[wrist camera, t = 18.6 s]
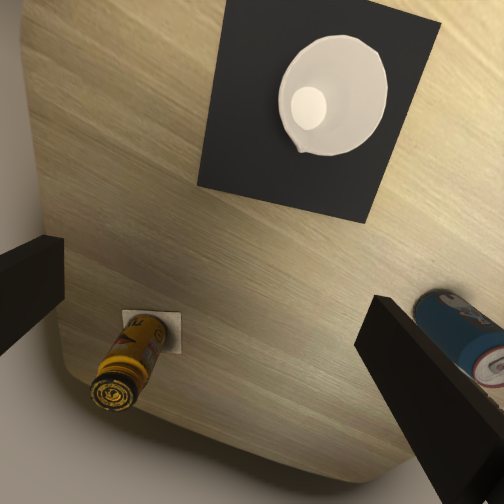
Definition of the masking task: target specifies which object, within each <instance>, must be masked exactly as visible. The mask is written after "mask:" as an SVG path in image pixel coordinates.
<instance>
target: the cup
mask: <svg viewBox="0 0 504 504" xmlns="http://www.w3.org/2000/svg"><path fill="white" fill-rule="evenodd" d="M387 89H388V86H387V79H386V73H385V69H384V67H383V64H382V62H381V59H380V57H379V54H378V52H376V51H375V50H373V49H372V48H371V47H369V46H368V45H366V44H365V43H363V42H362V41H360V40H359V39H358V38H354V37H350V36H347V35H336V36H326V37H323V38H320V39H317V40H316V41H314V42H313V43H311V44H310V45H309V46H307V47H306V48H304V49H303V50H301V51H300V52H299V53H298V54H297V56H296V57H295V58H294V60H293V61H292V62H291V64H290V65H289V66H288V68H287V70H286V72H285V74H284V76H283V78H282V82H281V85H280V88H279V97H278V103H279V114H280V117H281V120H282V123H283V126H284V129H285V131H286V132H287V134H288V135H289V137H290V138H291V139H292V141H293V142H294V144H295V145H296V147H297V150H298V152H301V153H303V152H308V153H312V154H316V155H324V156H333V155H338V154H342V153H346V152H349V151H351V150H353V149H355V148H356V147H358V146H359V145H361V144H362V143H363V142H365V141H366V140H367V139H368V138H369V137H370V136H371V135H372V133H373V132H374V130H375V129H376V128H377V126H378V124H379V122H380V120H381V119H382V116H383V113H384V109H385V106H386V98H387Z"/></svg>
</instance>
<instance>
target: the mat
mask: <svg viewBox="0 0 504 504" xmlns="http://www.w3.org/2000/svg"><path fill="white" fill-rule="evenodd" d="M440 26H441V23H439V22H436V21H433V20H430V19H426V18H423V17H420V16H417V15H413V14H410V13H407V12H404V11H401V10H397V9H394V8H391V7H388V6H384V5H381V4H378V3H375V2H371V1H368V0H227V1H226V7H225V13H224V19H223V26H222V32H221V38H220V44H219V50H218V57H217V63H216V69H215V75H214V82H213V88H212V94H211V100H210V107H209V113H208V119H207V125H206V132H205V138H204V144H203V150H202V157H201V163H200V169H199V175H198V182H197V186H201V187H205V188H210V189H214V190H218V191H223V192H227V193H232V194H236V195H240V196H245V197H249V198H253V199H258V200H262V201H267V202H271V203H275V204H280V205H284V206H289V207H293V208H297V209H302V210H306V211H311V212H315V213H319V214H324V215H328V216H332V217H337V218H341V219H346V220H350V221H354V222H359V223H363V224H365V222H366V219H367V217H368V214H369V212H370V209H371V206H372V204H373V201H374V198H375V196H376V193H377V191H378V188H379V185H380V183H381V180H382V178H383V175H384V172H385V170H386V167H387V165H388V162H389V159H390V157H391V154H392V151H393V149H394V146H395V144H396V141H397V138H398V136H399V133H400V131H401V128H402V125H403V123H404V120H405V118H406V115H407V112H408V110H409V107H410V104H411V102H412V99H413V97H414V94H415V91H416V89H417V86H418V84H419V81H420V78H421V76H422V73H423V71H424V68H425V65H426V63H427V60H428V57H429V55H430V52H431V50H432V47H433V44H434V42H435V39H436V37H437V34H438V31H439V29H440ZM336 35H347V36H350V37H354V38H358V39H359V40H360V41H362V42H363V43H365V44H366V45H368V46H369V47H371V48H372V49H373V50H375V51H376V52H378V54H379V57H380V59H381V62H382V64H383V67H384V69H385V73H386V79H387V86H388V89H387V98H386V106H385V109H384V113H383V116H382V119H381V120H380V122H379V124H378V126H377V128H376V129H375V130H374V132H373V133H372V135H371V136H370V137H369V138H368V139H367V140H366V141H365V142H363V143H362V144H361V145H359V146H358V147H356V148H355V149H353V150H351V151H349V152H346V153H342V154H338V155H333V156H324V155H316V154H312V153H308V152H303V153H301V152H298V150H297V147H296V145H295V144H294V142H293V141H292V139H291V138H290V137H289V135H288V134H287V132H286V131H285V129H284V126H283V123H282V120H281V117H280V114H279V103H278V97H279V88H280V85H281V82H282V78H283V76H284V74H285V72H286V70H287V68H288V66H289V65H290V64H291V62H292V61H293V60H294V58H295V57H296V56H297V54H298V53H299V52H300V51H301V50H303V49H304V48H306V47H307V46H309V45H310V44H311V43H313V42H314V41H316V40H317V39H320V38H323V37H326V36H336Z"/></svg>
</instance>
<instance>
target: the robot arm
mask: <svg viewBox="0 0 504 504" xmlns="http://www.w3.org/2000/svg"><path fill="white" fill-rule="evenodd" d="M64 299H65V285H64V238H59V237H53V236H48V235H42V236H40V237H37V238H36V239H33V240H31V241H29V242H27V243H25V244H23V245H20V246H18V247H16V248H14V249H12V250H10V251H8V252H6V253H4V254H1V255H0V356H1V355H2V354H3V353H5V352H6V351H7V350H8V349H9V348H10V347H11V346H12V345H13V344H15V343H16V342H17V341H18V340H19V339H20V338H21V337H22V336H24V335H25V334H26V333H27V332H28V331H29V330H30V329H31V328H32V327H34V326H35V325H36V324H37V323H38V322H39V321H40V320H41V319H43V318H44V317H45V316H46V315H47V314H48V313H49V312H50V311H51V310H53V309H54V308H55V307H56V306H57V305H58V304H59V303H61V302H62V301H63V300H64ZM354 346H355V348H356V350H357V351H358V353H359V355H360V357H361V359H362V360H363V362H364V364H365V366H366V368H367V369H368V371H369V373H370V375H371V376H372V378H373V380H374V382H375V384H376V385H377V387H378V389H379V391H380V393H381V394H382V396H383V398H384V400H385V402H386V403H387V405H388V407H389V409H390V410H391V412H392V414H393V416H394V418H395V419H396V421H397V423H398V425H399V427H400V428H401V430H402V432H403V434H404V436H405V437H406V439H407V441H408V443H409V445H410V446H411V448H412V450H413V452H414V453H415V455H416V457H417V459H418V461H419V462H420V464H421V466H422V468H423V470H424V471H425V473H426V475H427V477H428V479H429V480H430V482H431V484H432V486H433V487H434V489H435V491H436V493H437V495H438V496H439V498H440V500H441V502H442V504H483V502H484V501H485V500H486V501H487V502H488V504H504V411H503V409H499V405H498V404H497V403H496V402H495V401H494V400H493V399H492V398H491V397H488V394H487V393H486V392H485V391H484V390H483V389H482V388H481V387H480V386H479V385H478V384H477V383H476V382H475V381H474V380H473V379H471V378H470V377H469V376H467V375H466V374H465V373H463V372H462V371H461V370H460V369H459V368H458V367H457V366H456V365H455V364H454V363H453V362H452V361H451V360H450V359H449V358H448V357H447V356H446V355H445V354H444V353H443V352H442V351H441V350H440V348H439V347H438V346H437V345H436V344H435V343H434V342H433V341H432V340H431V339H430V338H429V337H428V336H427V335H426V334H425V333H424V332H423V331H422V330H421V329H420V328H419V327H418V326H417V325H416V324H415V323H414V322H413V320H412V319H411V318H410V317H409V316H408V315H407V314H406V313H405V312H404V311H403V310H402V309H401V308H400V307H399V306H398V305H397V304H396V303H395V302H394V301H393V300H392V299H391V298H390V297H384V296H379V295H374V297H373V300H372V302H371V305H370V307H369V309H368V312H367V314H366V317H365V319H364V322H363V324H362V326H361V329H360V331H359V334H358V336H357V338H356V341H355V343H354Z"/></svg>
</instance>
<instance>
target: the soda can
mask: <svg viewBox="0 0 504 504" xmlns="http://www.w3.org/2000/svg"><path fill="white" fill-rule="evenodd" d="M415 318H416V323H417V325H418V327H419V328H420V329H421V330H422V331H423V332H424V333H425V334H426V335H427V336H428V337H429V338H430V339H431V340H432V341H433V342H434V343H435V344H436V345H437V346H438V347H439V348H440V350H441V351H442V352H443V353H444V354H445V355H446V356H447V357H448V358H449V359H450V360H451V361H452V362H453V363H454V364H455V365H456V366H457V367H458V368H459V369H460V370H461V371H462V372H463V373H465V374H466V375H467V376H469V377H470V378H471V379H473V380H474V381H476V382H477V383H478V384H480V385H481V386H483V387H487V388H501V387H504V329H502V328H501V327H500V326H498V325H497V324H496V323H494V322H493V321H492V320H490V319H489V318H488V317H486V316H485V315H483V314H482V313H481V312H479V311H478V310H477V309H475V308H474V307H473V306H471V305H470V304H469V303H467V302H466V301H465V300H463V299H462V298H460V297H459V296H458V295H456V294H453V293H448V292H436V293H432V294H429V295H427V296H425V297H424V298H423V299H422V300H421V301H420V302H419V303H418V305H417V307H416V314H415Z"/></svg>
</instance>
